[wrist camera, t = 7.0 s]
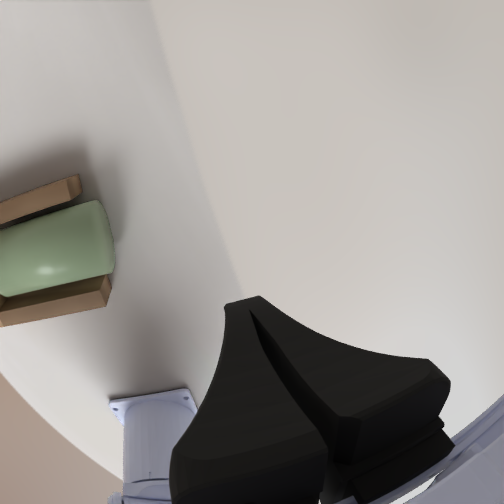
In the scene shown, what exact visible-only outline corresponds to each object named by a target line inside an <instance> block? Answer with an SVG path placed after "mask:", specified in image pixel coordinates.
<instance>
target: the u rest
mask: <svg viewBox="0 0 504 504" xmlns="http://www.w3.org/2000/svg"><path fill="white" fill-rule="evenodd" d="M80 193H82V187H81V183H80V179H79V174H77V175H74V176H71V177H68V178H65V179H62V180H59V181H56V182H53V183H50V184H47V185H44V186H41V187H39V188H36V189H33V190H30V191H28V192H25V193H23V194H20V195H17V196H15V197H12V198H10V199H7V200H5V201H3V202H0V224H3V223H5V222H8V221H11V220H13V219H16V218H19V217H22V216H24V215H27V214H30V213H33V212H36V211H39V210H42V209H45V208H48V207H51V206H54V205H57V204H60V203H63V202H67V201H70V200H72V199H73V198H75V197H76V196H78V195H79V194H80ZM111 289H112V287H111V284H110V282H109V279H108V276H107V274H104V275H100V276H96V277H91V278H87V279H83V280H78V281H74V282H70V283H65V284H61V285H57V286H52V287H48V288H44V289H40V290H35V291H31V292H27V293H23V294H18V295H14V296H10V297H6V296H3V295H1V294H0V327H5V326H10V325H16V324H21V323H26V322H31V321H37V320H42V319H47V318H52V317H57V316H62V315H67V314H72V313H77V312H82V311H87V310H91V309H96V308H101V307H106V305H107V302H108V298H109V295H110V292H111Z"/></svg>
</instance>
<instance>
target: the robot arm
mask: <svg viewBox="0 0 504 504" xmlns="http://www.w3.org/2000/svg"><path fill="white" fill-rule="evenodd" d="M224 310H225V331H224V338H223V344H222V348H221V353H220V357H219V361H218V365H217V368H216V371H215V374H214V377H213V379H212V382H211V384H210V387H209V389H208V391H207V394H206V396H205V398H204V400H203V402H202V404H201V406H200V407H199V409H197V407H196V404H195V402H194V400H193V397H192V395H191V393H190V391H189V390H188V389H185V388H183V389H178V390H173V391H167V392H162V393H156V394H150V395H144V396H138V397H131V398H124V399H116V400H110V401H109V407H110V409H111V410H112V411H113V413H114V414H115V416H116V417H117V418H118V420H119V421H120V423H121V424H122V425H123V427H124V442H123V496H121V493H119V492H114V493H113V495H111V496H110V497H108V504H318V503H319V499H320V502H321V504H389V503H391V502H393V501H395V500H397V499H398V498H400V497H402V496H404V495H405V494H407V493H409V492H410V491H412V490H414V489H415V488H417V487H418V486H420V485H422V484H423V483H424V482H426V481H428V480H429V479H431V478H432V477H434V476H435V475H437V474H438V473H439V472H440V473H439V474H438V475H437V476H436V477H435V479H434V481H433V482H432V483H431V485H430V486H429V487H428V488H427V489H426V490H425V491H424V492H422V493H420V494H419V495H417V496H415V497H414V498H412V499H410V500H408V501H407V502H405V503H403V504H504V394H503V395H502V396H501V397H500V398H499V399H498V400H497V401H496V402H495V403H494V404H492V405H491V406H490V407H489V408H488V409H487V410H486V411H485V412H483V413H482V414H481V415H480V416H479V417H478V418H476V419H475V420H474V421H473V422H472V423H470V424H469V425H468V426H467V427H465V428H464V429H463V430H461V431H460V432H459V433H458V434H456V435H455V436H454V437H452V438H451V439H450V438H449V437H448V436H447V435H446V433H445V432H444V431H443V430H442V428H443V427H444V422H443V421H442V420H441V419H440V418H439V414H440V412H441V410H442V408H443V406H444V404H445V402H446V400H447V398H448V395H449V392H450V386H451V382H450V380H449V379H448V377H447V376H446V375H445V374H444V373H443V372H442V371H441V370H440V369H438V367H437V366H436V365H434V364H433V363H432V362H431V361H430V360H429V359H422V358H410V357H399V356H392V355H387V354H381V353H376V352H372V351H367V350H364V349H360V348H356V347H354V346H350V345H347V344H344V343H341V342H338V341H336V340H333V339H331V338H329V337H326V336H324V335H322V334H319V333H317V332H315V331H313V330H311V329H309V328H307V327H306V326H304V325H302V324H300V323H299V322H297V321H296V320H294V319H293V318H291V317H289V316H288V315H286V314H285V313H283V312H282V311H280V310H279V309H278V308H276V307H275V306H273V305H272V304H271V303H269V302H268V301H267V300H265V299H264V298H262V297H261V296H255V297H252V298H248V299H244V300H240V301H236V302H232V303H228V304H226V305H225V306H224ZM185 396H187V397H185ZM442 470H443V471H442ZM441 471H442V472H441Z"/></svg>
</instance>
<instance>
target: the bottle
mask: <svg viewBox="0 0 504 504" xmlns="http://www.w3.org/2000/svg"><path fill="white" fill-rule="evenodd" d="M114 265H115V251H114V243H113V237H112V233H111V229H110V225H109V222H108V218H107V215H106V212H105V210H104V208H103V206H102V205H101V203H100V202H99V201H97V200H93V201H90V202H86V203H83V204H79V205H76V206H72V207H69V208H66V209H62V210H59V211H56V212H53V213H49V214H46V215H43V216H40V217H37V218H34V219H31V220H28V221H25V222H22V223H19V224H16V225H14V226H11V227H8V228H5V229H2V230H0V294H1V295H3V296H6V297H10V296H14V295H18V294H23V293H27V292H31V291H35V290H40V289H44V288H48V287H52V286H57V285H61V284H65V283H70V282H74V281H78V280H83V279H87V278H91V277H96V276H100V275H104V274H109V273H112V272H113V269H114Z"/></svg>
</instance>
